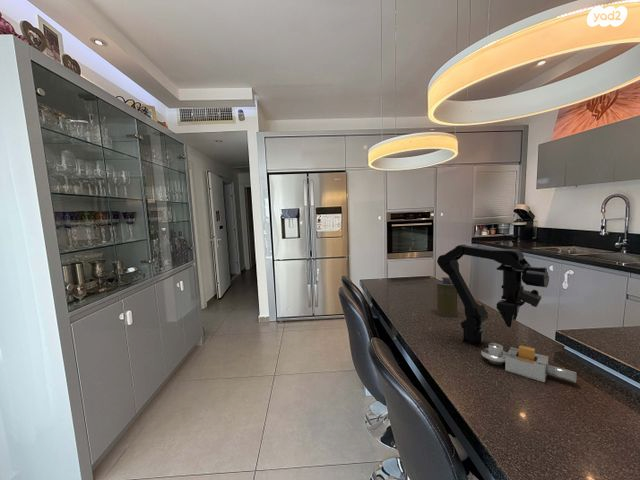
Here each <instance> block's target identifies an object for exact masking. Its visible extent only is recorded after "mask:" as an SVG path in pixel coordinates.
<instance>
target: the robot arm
mask: <svg viewBox="0 0 640 480" xmlns="http://www.w3.org/2000/svg"><path fill="white" fill-rule="evenodd" d="M464 256H468V257H469V256H470V257H476V258H482V259H488V260H492V261H495V262H496V263H499V264H500V265H499V266H498V267H496V270H497V271H502V285H501V289H502V295H501V299H500V300H499V301H498V302H497V303H496V310H497V311H498V312H499V314H500V315H501V318H502V319H503V321H504V324H505V325H506V327H507V328H512V325H513V321H517V318H518V314H519V310H520V308H521V306H524V305H525V304H529V305H530V306H532V307H534V308H537V307H538V305H539V304H540V302H541V300H542V295H540V294H539V293H540V292H539V290H537V289H532V290H525V289H524V285H523V284H522V283H524V284H525V285H526V286H533V287H539V288H540V287H541V288H547V287H548V286H549V282H550V276H549V272H548V268H547V267H545V266H544V267H538V266H536V267H535V266H532V265H531V264H530V263H529V262H528V261H527V259H526V258H525V255H524V253H523V252H522V251H521V250H520V249H518V248H504V249H503V248H501V249H500V248H499V249H495V248H487V247H480V246H473V245H467V244H459V245H457V246H455V247H454V248H453V249H451V250H449V251H448V252H446V253H444V254H441V255H439V256H438V258H437V260H436V262H437V265H438V266H439V267H440V269H441V271H442V272H444V273H445V274H446V275H447V277H449V278H450V280H451V281H452V283H453V285H454V287H455V289H456V291H457V296H458V295H459V299H460V300H461V302H462V304H463V307H464V316H465V319H464V320H463V321H462V322H460V325H461V328H462V329H463V330H462V331H463V332H462V333H463V334H462V335H463V338H462V339H461V342H463V343H466V344H471V345H474V346H478V347H479V346H480V345H481V344H483V342H484V332H483V328H482V327H483V326H484V324H486V323H487V322H488V320H489V312H488V311H487V310H486V307H485V305H484V304H481V305H480V304H479V303H478V302H476V300H475V298H474V296H473V295H472V293H471V291H470V288H469V287H468V285H467V284H466V281H465V279H464V277H463V276H462V273H461V272H460V264H459V260H460V259H461V258H462V257H464Z"/></svg>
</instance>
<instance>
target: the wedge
mask: <svg viewBox="0 0 640 480" xmlns="http://www.w3.org/2000/svg"><path fill="white" fill-rule="evenodd" d="M518 349H519V357H521V358H524V359H528V360H532V361H535V353H536V348H534V347H530V346H525V345H523V344H521V345H519V346H518Z"/></svg>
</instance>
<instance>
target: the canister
mask: <svg viewBox="0 0 640 480" xmlns="http://www.w3.org/2000/svg"><path fill="white" fill-rule="evenodd" d="M459 299H460V297H459V295H458V293H457V291H456V289H455V287H454V285H453V283H452V281H451V280H450V278H449V276H446V277H445V276H442V277H441V280H437V281H436V314H437V315H439V316H442V317H446V318H452V317H453V318H454V317H457V316H458V315H459V314H458V304H459V302H460V301H459Z"/></svg>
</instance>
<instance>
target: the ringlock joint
mask: <svg viewBox="0 0 640 480" xmlns="http://www.w3.org/2000/svg"><path fill="white" fill-rule="evenodd" d="M480 354H481V356H482V357H483V358H485V359H486V360H488V362H489V363H491V364H493V365H496V366H497V365H499V366H500V365H503V364H504V363H505V364H504V365H505V367H504V369H505V371H506V372H509V373H512V374H515V375H519V376H522V377H525V378H528V379H531V380H536V381H538V382H542V383H546V380H547V376H548V375H549V376H552V377H555V378H559V379H561V380H566V381H569V382H573V383H576V384H577V372H576V371H573V370H569V369H565V368H562V367H558V366H554V365H551V364H549V356H547V355H543V354H539V353H536V352H535V361H532V360H528V359H524V358H521V357H519V348H517V347H512V346H510V347H509V350H508V352H507V351H505V350H504V346H503V345H502V344H499V343H498V342H490V343H488V347H485V348H482V349H481V351H480Z"/></svg>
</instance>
